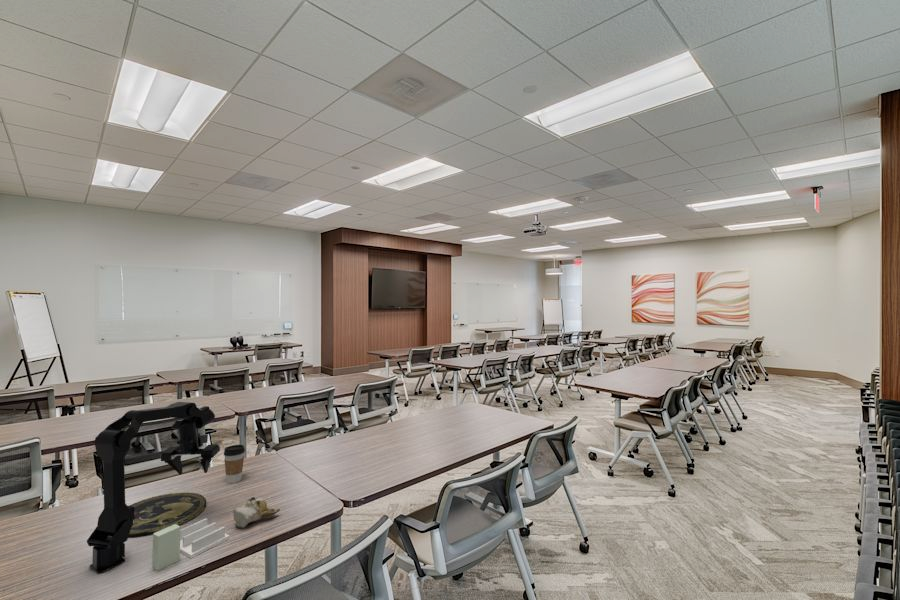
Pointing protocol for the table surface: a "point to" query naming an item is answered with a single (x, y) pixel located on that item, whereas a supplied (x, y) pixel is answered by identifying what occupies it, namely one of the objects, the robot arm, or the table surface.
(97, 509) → the table surface
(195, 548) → the dish rack
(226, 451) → the coffee cup
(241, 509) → the ceramic sculpture
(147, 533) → the decorative plate
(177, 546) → the sage tile
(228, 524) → the table surface
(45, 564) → the table surface
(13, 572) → the table surface
